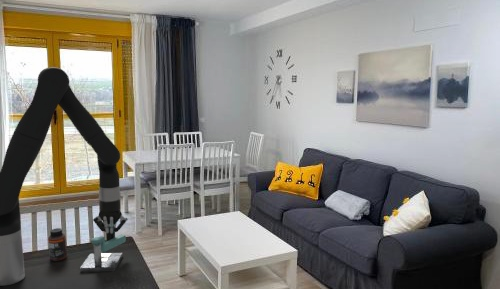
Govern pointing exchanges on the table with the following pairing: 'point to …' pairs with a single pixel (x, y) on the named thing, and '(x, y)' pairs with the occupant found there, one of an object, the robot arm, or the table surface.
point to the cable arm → (108, 242)
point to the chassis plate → (101, 261)
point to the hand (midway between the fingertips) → (111, 241)
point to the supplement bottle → (57, 245)
